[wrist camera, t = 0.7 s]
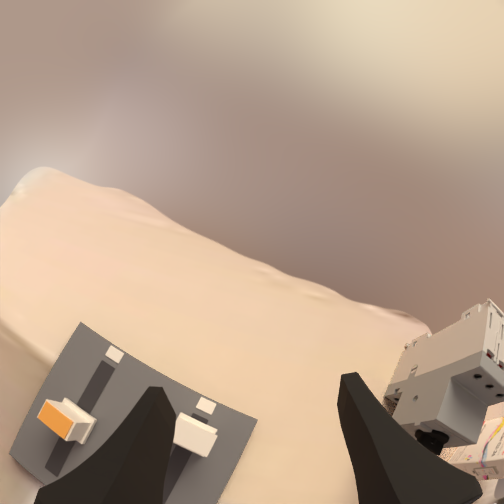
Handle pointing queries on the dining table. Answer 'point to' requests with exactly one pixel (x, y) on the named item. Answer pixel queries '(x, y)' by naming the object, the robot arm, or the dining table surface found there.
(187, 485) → the breaker panel
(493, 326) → the circuit breaker
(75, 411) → the block
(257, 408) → the dining table surface
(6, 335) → the dining table surface
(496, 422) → the ink cartridge box
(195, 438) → the block
